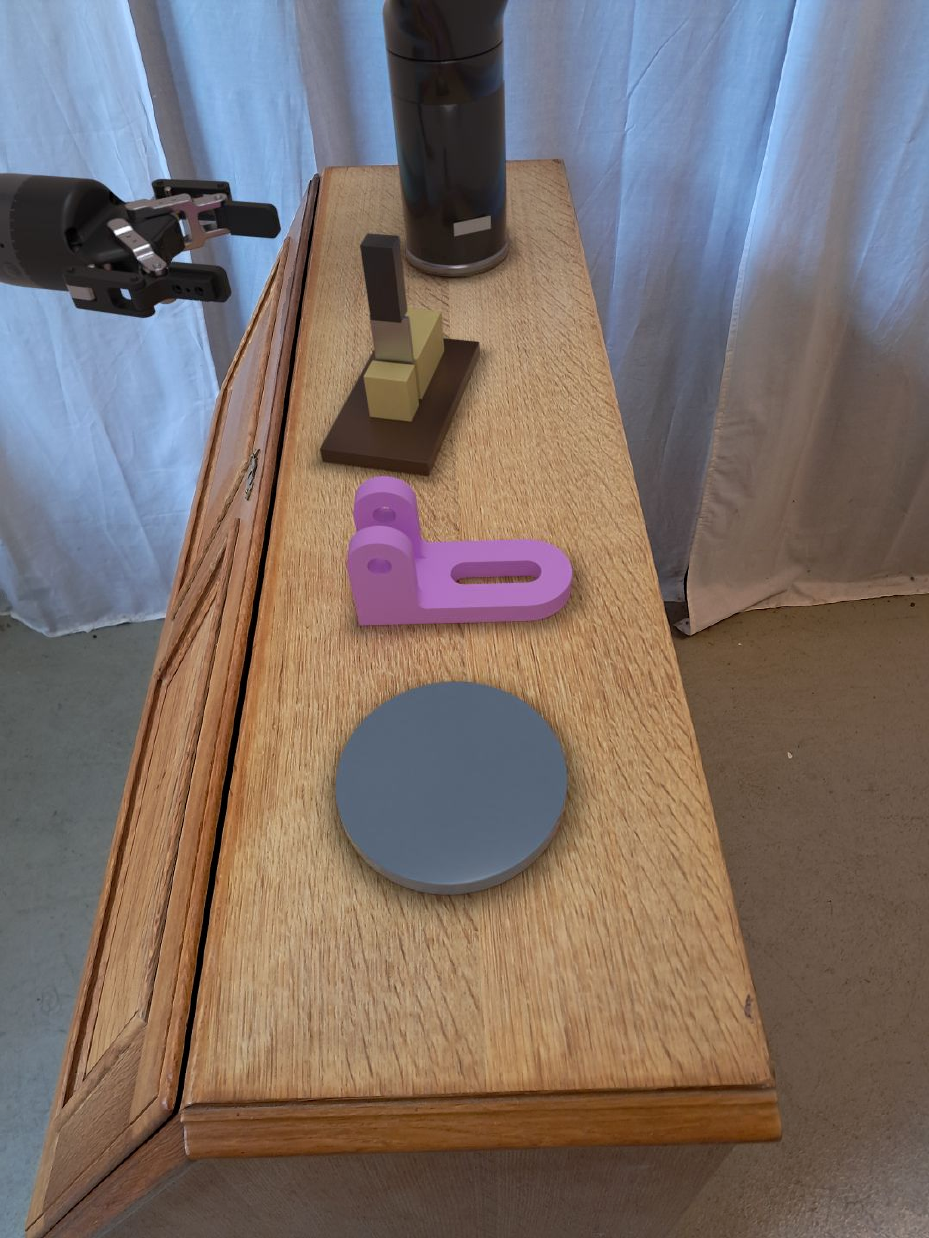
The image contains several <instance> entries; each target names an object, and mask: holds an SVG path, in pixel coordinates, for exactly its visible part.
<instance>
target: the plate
mask: <svg viewBox="0 0 929 1238" xmlns="http://www.w3.org/2000/svg"><path fill="white" fill-rule="evenodd" d="M568 783H569V782H568V767H567V761H566V756H565V754H564V751H563V748H562V745H561V743H560V740H559V739H558V737H557V735H556V733H555V732H554V730H553V729H552V727H551V725H550V724H549V723H548V721H546V719H545V718H544V717H543V716H542V714H540V713H539V712H538V711H537V710H536V709H534V708H533V707H532V706H531V705H530V704H528V703H527V702H526V701H524V700H523V699H521V698H520V697H518V696H516V695H514V694H512V693H510V692H508V691H506V690H503V689H500V688H497V687H495V686H491V685H487V684H483V683H478V682H471V681H442V682H433V683H429V684H428V683H427V684H423V685H421V686H417V687H414V688H411V689H409V690H406V691H403V692H401V693H398V694H397V695H395V696H393V697H391V698H390V699H387V700H386V701H384V702H383V703H382V704H381V705H379V706H378V707H376V708H375V709H374V710H372V711H371V712H370V713H369V714H367V716H366V717H365V718H364V719H363V720H362V721H361V722H360V723H359V725H358V726H357V727H356V728H355V729H354V731H353V732H352V734H351V735H350V737H349V739H348V740H347V742H346V743H345V746H344V748H343V750H342V752H341V755H340V758H339V761H338V764H337V769H336V775H335V789H334V791H335V800H336V807H337V810H338V814H339V818H340V820H341V824H342V827H343V829H344V832H345V834H346V837H347V838H348V840H349V842H350V844H351V845H352V847H353V848H354V850H355V851H356V853H357V854H358V855H359V856H360V858H361V859H362V860H363V861H364V862H365V863H366V864H367V865H368V866H369V867H370V868H371V869H372V870H374V871H375V872H377V873H378V874H379V875H381V877H384V878H385V879H387V880H389V881H391V883H392V882H393V883H395V884H397V885H399V886H401V887H404V888H406V889H411V890H413V891H415V892H416V891H417V892H420V893H427V894H430V895H431V894H432V895H443V896H445V895H447V896H454V895H465V894H472V893H477V892H481V891H485V890H488V889H490V888H493V887H496V886H499V885H502V884H503V883H505V882H507V881H508V880H511V879H513V878H515V877H516V876H518V875H519V874H520V873H522V872H523V871H525V870H526V869H528V868H529V867H530V866H532V864H534V862H535V861H536V860H538V859H539V858H540V857H541V856H542V854H543V853H544V852H545V851H546V849H547V848H548V847H549V846H550V844H551V842H552V841H553V839H554V838H555V835H557V833H558V830H559V827H560V826H561V823H562V820H563V817H564V814H565V810H566V806H567V805H566V804H567V798H568V786H569V785H568Z"/></svg>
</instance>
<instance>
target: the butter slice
mask: <svg viewBox="0 0 929 1238" xmlns="http://www.w3.org/2000/svg"><path fill="white" fill-rule="evenodd" d="M364 383H365V389H366V395H367V401H368V408H369V414H370V417H376V418H385V419H393V420H401V421H409V422H411V421H412V419H413V417H414V415H415V413H416V411H417V409H418V406H419V401H418V391H417V382H416V373H415V365H410V364H400V363H391V362H382V361H372V362H371V364H370V366H369V367H368V369H367V371H366V373H365V375H364Z"/></svg>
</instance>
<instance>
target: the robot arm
mask: <svg viewBox="0 0 929 1238" xmlns="http://www.w3.org/2000/svg"><path fill="white" fill-rule="evenodd" d="M508 3H509V0H385V1H384V3H383V5H382V14H381V15H382V26H383V28H382V29H383V36H384V44H385V54H386V61H387V62H386V63H387V64H386V65H387V74H388V83H389V91H390V100H391V109H392V111H391V112H392V119H393V121H392V122H393V130H394V138H395V146H396V147H395V149H396V158H397V168H398V178H399V187H400V196H401V197H400V198H401V207H402V215H403V217H402V219H403V227H404V236H405V238H404V247H405V255H406V259H407V261H408V262H409V263H410V265H412V266H413V267H414V268H416V269H418V270H420V272H424V273H426V274H431V275H435V276H440V277H441V276H442V277H462V276H470V275H475V274H479V273H482V272H484V271H485V272H486V271H487V270H490V269H491V268H493V267H496V266H497V265H499V264H500V263H501V262H502V261H503V260H504V259H505V258H506V256H507V255H508V252H509V235H508V217H507V216H508V215H507V214H508V210H507V208H508V197H507V193H508V191H507V141H506V139H507V137H506V135H507V134H506V85H505V84H506V81H505V38H504V36H505V35H504V34H505V32H504V31H505V30H504V29H505V27H504V26H505V24H504V22H505V21H504V20H505V13H506V9H507V8H508V7H507V6H508ZM150 184H151V187H152V191H153V196H152V197H151V198H150V199H148V198H141V199H137V200H133V201H124V200H122V199H121V198H120V197H119V196H118V195H116V194H115V192H113V191H112V190H111V189H110V188H109V187H108V186H107V185H106V184H104V183H102V182H101V181H99V180H96V179H93V178H84V177H70V176H58V175H57V176H55V175H43V174H30V173H15V172H0V283H3V284H5V285H10V286H14V287H20V288H28V289H29V288H30V289H38V290H40V289H41V290H49V291H58V292H68V293H69V295H70V297H71V300H72V302H73V305H74V307H75V308H76V309H79V310H85V311H92V312H98V313H106V314H111V315H118V316H119V315H120V316H124V317H125V316H126V317H132V318H139V319H148V318H151V317H153V316H154V315H156V307H155V306H156V305H158V304H161V305H170V304H173V303H175V302H176V301H177V300H183V301H195V302H205V303H208V302H212V303H226V302H227V301H228V300H229V298H230V297H231V296H232V288H231V285H230V281H229V277H228V273H227V271H226V269H225V268H223V267H222V266H220V265H217V264H204V263H192V262H185V261H183V262H181V261H173V260H174V258H176V257H177V256H178V255H180V254H181V253H183V252H188V251H192V250H195V249H200V248H203V247H204V246H205V243H206V241H207V240H208V239H212V238H217V237H221V236H225V235H229V234H230V236H235V237H236V236H237V237H249V238H260V239H271V240H272V239H277V237H278V236H279V234H280V233H281V232H282V226H281V221H280V216H279V212H278V208H277V207H276V206H275V205H274V204H272V203H268V202H258V201H257V202H255V201H242V200H234V198H233V195H232V190H231V186H230V183H229V182H228V181H226V180H204V179H203V180H202V179H201V180H200V179H181V178H179V179H177V178H176V179H175V178H158V179H155V180H153V181H151V183H150ZM204 195H205V196H204ZM181 220H182V221H183V220H184V221H186V223H187V227H188V233H187V234H186V235H184V234H183V231H182V227H181V224H180V221H181ZM200 221H202V222H203V221H204V222H211V223H207V224H203V225H202V224H200ZM122 290H126V291H128V294H129V297H130V298H127V297H125V296H124V294H123V292H122Z"/></svg>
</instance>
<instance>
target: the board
mask: <svg viewBox="0 0 929 1238" xmlns="http://www.w3.org/2000/svg"><path fill="white" fill-rule="evenodd" d="M443 339H444V353H443V355H442V357H441V359H440V361H439V363H438V366H437V368H436V370H435V372H434V374H433V376H432V378H431V381H430V383H429V385H428V387H427V389H426V391H425V393H424V396H423V398H422V399H418V400H419V406H418V409H417V411H416V413H415V415H414V417H413V419H412V421H411V422H409V421H401V420H393V419H385V418H376V417H370V414H369V408H368V401H367V395H366V389H365V383H364V375H365V373H366V371H367V369H368V367H369V366H370V364H371V362H372V361H376V358H375V351H374V350H372V352H371V354H370V356H369V359H368V360H367V362H366V364H365V365H364V368H363V369H362V371H361V373H360V375H359V377H358V378H357V380H356V381H355V384H354V386H353V388H352V389H351V391H350V392H349V395H348V397H347V398H346V400H345V402H344V404H343V406H342V407H341V409H340V411H339V412H338V414H337V417H336V418H335V420H334V422H333V424H332V426H331V428H330V430H329V431H328V433H327V435H326V437H325V438H324V439H323V442H322V443H321V446H320V448H319V452H320V456H321V457H320V458H321V461H322V462H323V463H330V464H337V465H344V466H353V467H359V468H360V467H361V468H367V469H375V470H381V471H382V470H383V471H390V472H395V473H405V474H413V475H421V476H427V477H428V476H430V474H431V471H432V469H433V467H434V465H435V462H436V459H437V457H438V456H439V453H440V450H441V448H442V446H443V443H444V441H445V439H446V436H447V434H448V431H449V429H450V426H451V424H452V422H453V419H454V417H455V415H456V412H457V410H458V407H459V405H460V403H461V400H462V399H463V396H464V393H465V391H466V389H467V386H468V383H469V381H470V379H471V377H472V375H473V371H474V369H475V368H476V365H477V363H478V360H479V358H480V355H481V348H480V345H481V344H480V341H477V340H466V339H455V338H447V337H443Z"/></svg>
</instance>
